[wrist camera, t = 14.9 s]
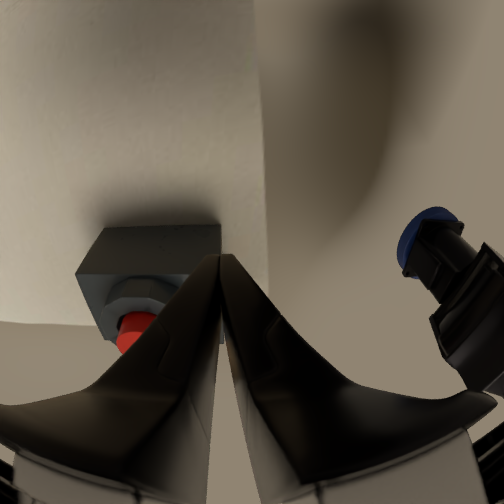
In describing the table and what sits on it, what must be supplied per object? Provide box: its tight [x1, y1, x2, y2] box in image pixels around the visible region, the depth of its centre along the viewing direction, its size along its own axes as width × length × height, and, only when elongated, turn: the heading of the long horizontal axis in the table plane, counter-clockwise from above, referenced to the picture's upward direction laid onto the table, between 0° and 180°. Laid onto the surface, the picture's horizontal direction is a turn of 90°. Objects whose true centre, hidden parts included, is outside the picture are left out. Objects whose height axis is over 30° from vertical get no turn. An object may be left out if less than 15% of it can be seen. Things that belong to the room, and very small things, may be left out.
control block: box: [75, 225, 224, 346], centre depth 20 cm, size 10×7×8 cm
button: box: [116, 311, 157, 354], centre depth 16 cm, size 4×4×2 cm
